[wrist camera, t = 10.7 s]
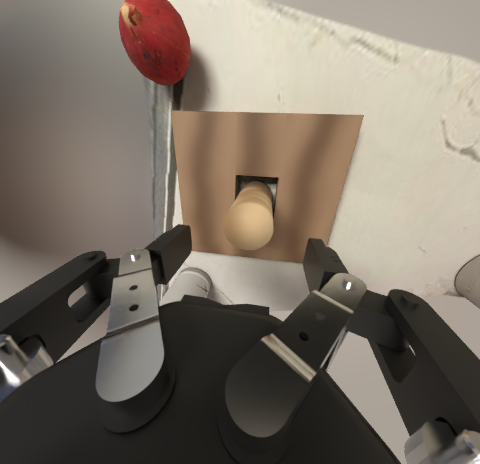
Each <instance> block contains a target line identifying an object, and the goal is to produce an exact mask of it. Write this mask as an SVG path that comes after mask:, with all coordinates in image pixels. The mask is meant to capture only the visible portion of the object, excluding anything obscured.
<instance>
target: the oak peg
mask: <svg viewBox="0 0 480 464" xmlns="http://www.w3.org/2000/svg"><path fill="white" fill-rule="evenodd" d="M223 230H224V234H225V236H226V238H227V239H228V241H229V242H230V243H231V244H232V245H234V246H235V247H237V248H240V249H243V250H256V249H259V248H261V247H263V246H264V245H266V244H267V243H268V242H269V240H270V239H271V237H272V234H273V212H272V193H271V190H270V188H269V186H268V185H267V184H266V183H264V182H263V181H260V180H253V181H250V182H248V183H247V184H245V185H244V186H243V187H242V189H241V190H240V193H239V195H238V197H237V198H236V200H235V202H234V203H233V205H232V206H231V208H230V210H229V211H228V213H227V215H226V216H225V219H224V222H223Z"/></svg>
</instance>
